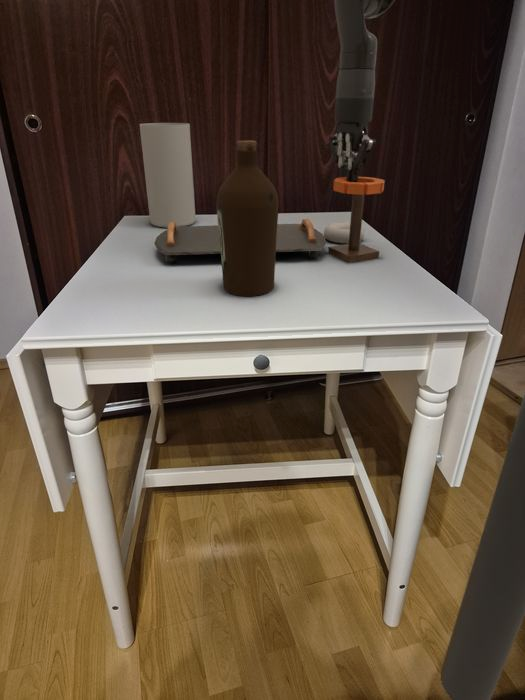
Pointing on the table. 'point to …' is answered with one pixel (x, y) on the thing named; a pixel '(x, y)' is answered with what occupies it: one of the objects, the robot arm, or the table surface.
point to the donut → (339, 232)
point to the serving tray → (208, 240)
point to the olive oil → (247, 226)
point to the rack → (354, 237)
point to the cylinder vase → (168, 173)
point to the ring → (359, 185)
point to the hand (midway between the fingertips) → (347, 186)
